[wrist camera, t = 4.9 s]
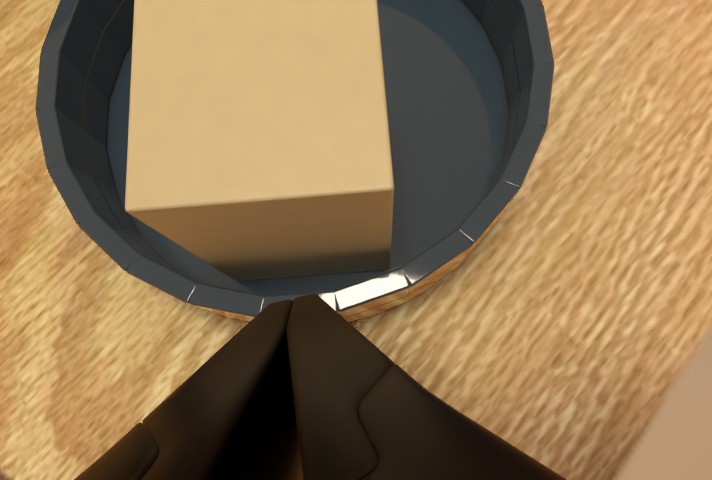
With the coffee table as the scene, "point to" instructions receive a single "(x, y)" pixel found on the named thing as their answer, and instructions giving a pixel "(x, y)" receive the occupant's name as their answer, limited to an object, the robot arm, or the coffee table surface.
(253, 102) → the block
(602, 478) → the coffee table surface
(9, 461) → the coffee table surface
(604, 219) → the coffee table surface
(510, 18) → the bowl
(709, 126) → the coffee table surface
